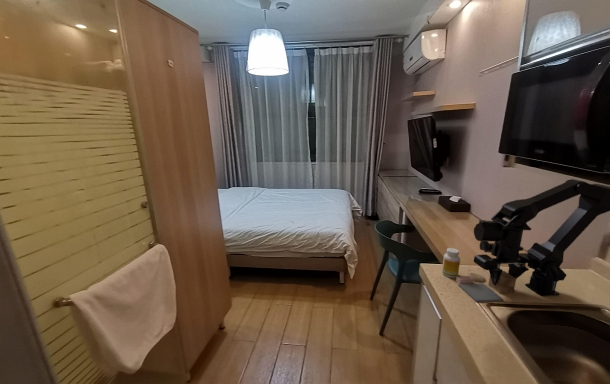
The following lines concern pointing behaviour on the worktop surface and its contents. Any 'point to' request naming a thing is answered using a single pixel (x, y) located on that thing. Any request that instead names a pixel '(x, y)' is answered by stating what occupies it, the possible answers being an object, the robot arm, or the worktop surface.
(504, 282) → the walnut block
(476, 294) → the slate trivet
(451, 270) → the supplement bottle
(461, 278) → the pink eraser
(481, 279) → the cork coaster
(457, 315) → the worktop surface
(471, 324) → the worktop surface
